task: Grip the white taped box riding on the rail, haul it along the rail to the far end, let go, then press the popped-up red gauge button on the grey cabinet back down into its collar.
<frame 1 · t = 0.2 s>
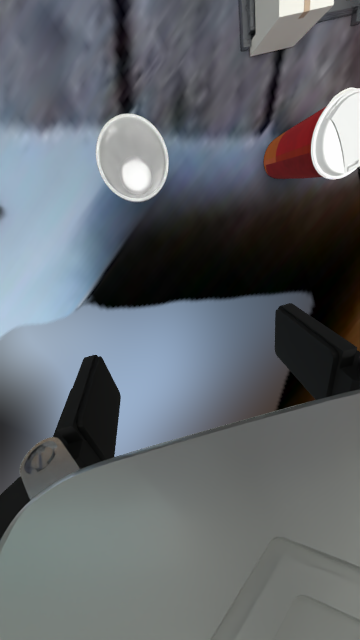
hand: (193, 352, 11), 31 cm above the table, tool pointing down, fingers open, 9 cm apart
drinking glass: (136, 177, 33), on the table
paper cup: (279, 157, 35), on the table
rail: (301, 8, 27), on the table
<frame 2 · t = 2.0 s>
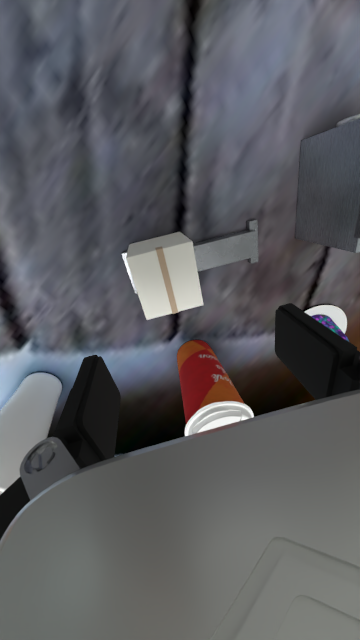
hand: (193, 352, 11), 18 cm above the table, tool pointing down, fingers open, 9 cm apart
drinking glass: (44, 383, 32), on the table
paper cup: (193, 353, 34), on the table
white taped box: (164, 273, 23), point 4 cm above the table, slide at 0.0 cm
rail: (192, 256, 27), on the table
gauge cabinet: (321, 188, 25), on the table
purple patterned hat: (308, 334, 37), on the table
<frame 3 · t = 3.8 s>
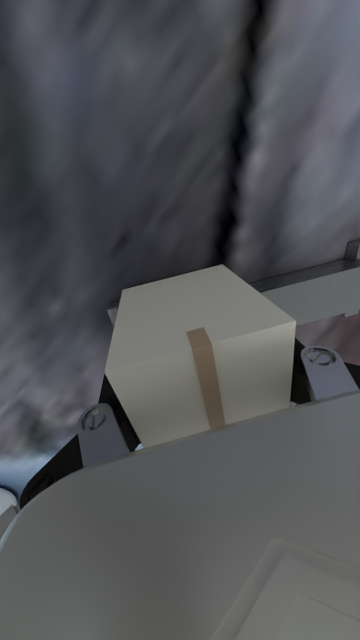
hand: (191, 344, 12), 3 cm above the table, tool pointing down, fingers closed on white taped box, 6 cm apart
white taped box: (195, 356, 11), point 4 cm above the table, slide at 0.0 cm, touching gripper
rail: (240, 306, 14), on the table
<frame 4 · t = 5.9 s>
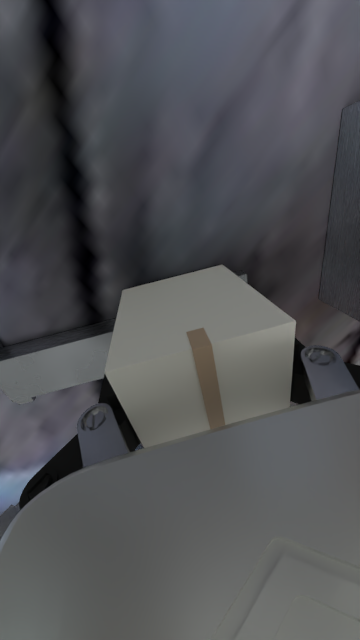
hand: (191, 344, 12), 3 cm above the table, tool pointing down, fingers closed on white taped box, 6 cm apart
white taped box: (195, 356, 11), point 4 cm above the table, slide at 7.9 cm, touching gripper
rail: (125, 337, 14), on the table
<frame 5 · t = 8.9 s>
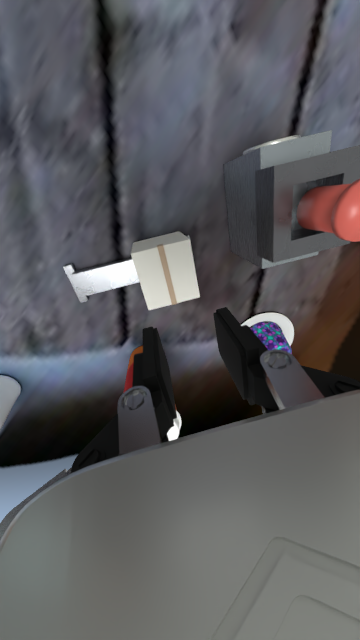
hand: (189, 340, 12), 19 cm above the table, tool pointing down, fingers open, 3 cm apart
drinking glass: (4, 384, 35), on the table
paper cup: (146, 357, 36), on the table
white taped box: (164, 268, 26), point 4 cm above the table, slide at 8.0 cm
rail: (133, 268, 29), on the table
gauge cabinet: (249, 206, 27), on the table
gauge button: (336, 209, 15), point 14 cm above the table, slide at 2.5 cm
purple patterned hat: (259, 339, 39), on the table
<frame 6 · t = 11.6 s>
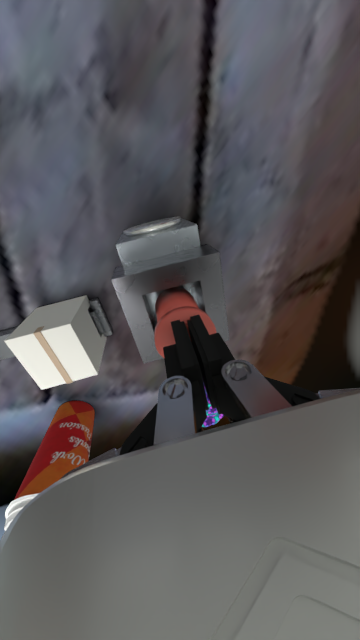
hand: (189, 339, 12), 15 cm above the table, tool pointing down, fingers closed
paper cup: (76, 411, 35), on the table
white taped box: (65, 339, 24), point 4 cm above the table, slide at 8.0 cm
rail: (42, 331, 27), on the table
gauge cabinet: (162, 268, 26), on the table
gauge button: (179, 320, 14), point 13 cm above the table, slide at 1.4 cm, touching gripper
purple patterned hat: (198, 388, 37), on the table
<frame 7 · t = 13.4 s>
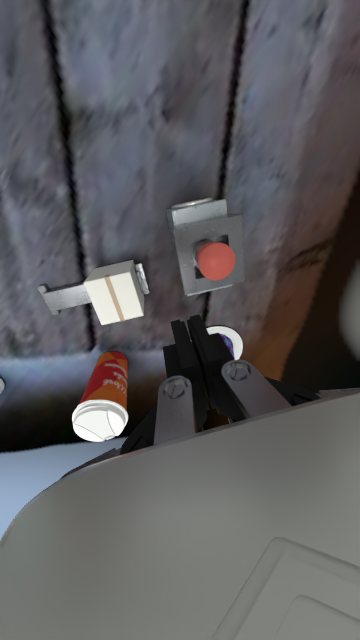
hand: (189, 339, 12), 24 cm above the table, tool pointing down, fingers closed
paper cup: (113, 361, 42), on the table
white taped box: (118, 291, 32), point 4 cm above the table, slide at 8.0 cm
rail: (96, 288, 35), on the table
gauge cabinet: (191, 240, 33), on the table
gauge button: (211, 257, 23), point 12 cm above the table, slide at 0.3 cm
purple patterned hat: (212, 349, 45), on the table
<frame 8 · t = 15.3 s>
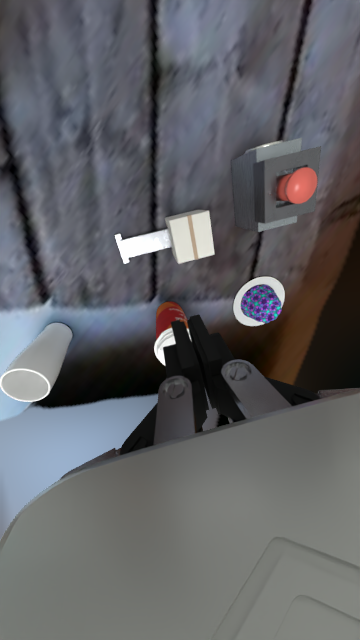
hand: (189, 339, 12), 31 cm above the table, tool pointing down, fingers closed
drinking glass: (59, 332, 45), on the table
paper cup: (169, 312, 46), on the table
white taped box: (188, 235, 36), point 4 cm above the table, slide at 8.0 cm
rail: (163, 238, 39), on the table
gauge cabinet: (249, 191, 37), on the table
gauge button: (290, 187, 27), point 12 cm above the table, slide at 0.3 cm
purple patterned hat: (257, 301, 49), on the table
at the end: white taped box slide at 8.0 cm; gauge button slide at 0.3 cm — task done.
